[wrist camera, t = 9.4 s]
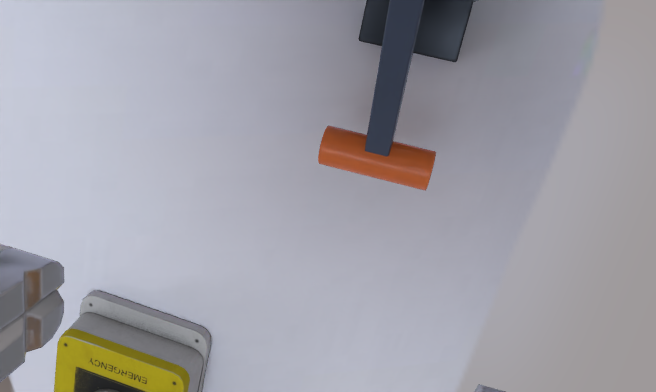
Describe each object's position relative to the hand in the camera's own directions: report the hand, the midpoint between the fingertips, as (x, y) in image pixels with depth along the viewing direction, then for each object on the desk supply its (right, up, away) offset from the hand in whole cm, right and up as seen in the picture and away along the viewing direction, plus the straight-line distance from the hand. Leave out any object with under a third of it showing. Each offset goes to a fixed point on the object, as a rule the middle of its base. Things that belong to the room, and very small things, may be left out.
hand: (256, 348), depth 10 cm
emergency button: (-12, -11, +29) cm, 34 cm away
